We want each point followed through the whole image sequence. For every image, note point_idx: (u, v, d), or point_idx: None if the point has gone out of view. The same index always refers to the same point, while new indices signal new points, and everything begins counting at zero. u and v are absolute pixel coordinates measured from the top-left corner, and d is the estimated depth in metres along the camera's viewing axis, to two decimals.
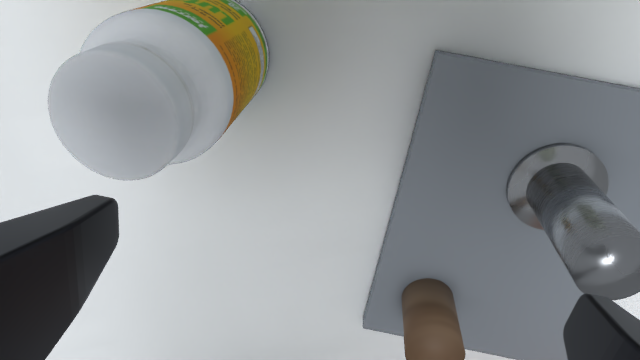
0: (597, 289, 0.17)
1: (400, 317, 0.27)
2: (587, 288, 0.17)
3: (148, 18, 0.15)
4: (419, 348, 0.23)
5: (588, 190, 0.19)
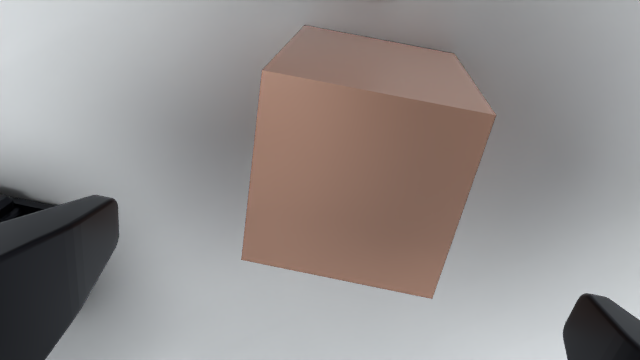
0: None
1: None
2: None
3: None
4: None
5: None
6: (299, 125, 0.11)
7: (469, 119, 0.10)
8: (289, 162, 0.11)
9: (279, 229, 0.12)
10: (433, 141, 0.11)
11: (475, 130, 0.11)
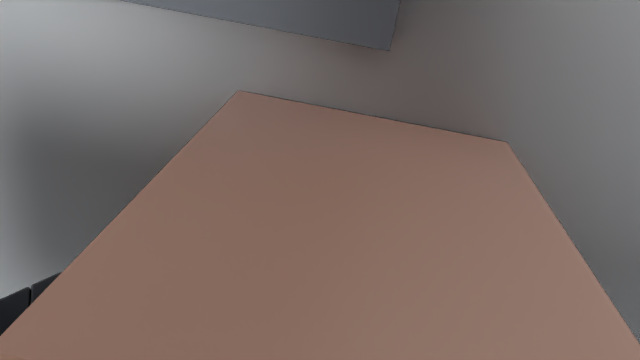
0: None
1: None
2: None
3: None
4: None
5: None
6: None
7: None
8: None
9: None
10: None
11: None
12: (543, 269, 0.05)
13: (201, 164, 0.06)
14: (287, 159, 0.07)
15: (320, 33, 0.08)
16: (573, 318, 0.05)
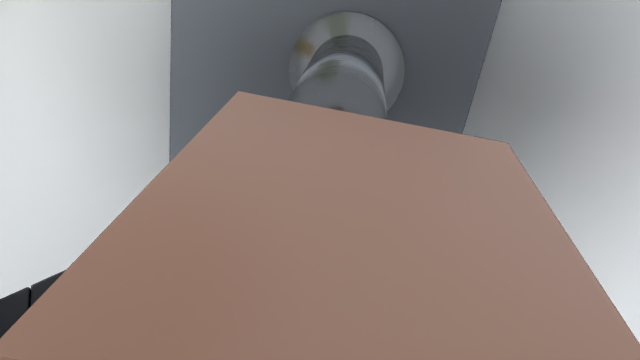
0: None
1: None
2: None
3: None
4: None
5: (342, 48, 0.15)
6: None
7: None
8: None
9: None
10: None
11: None
12: (544, 270, 0.05)
13: (201, 165, 0.06)
14: (288, 160, 0.07)
15: None
16: (574, 320, 0.05)
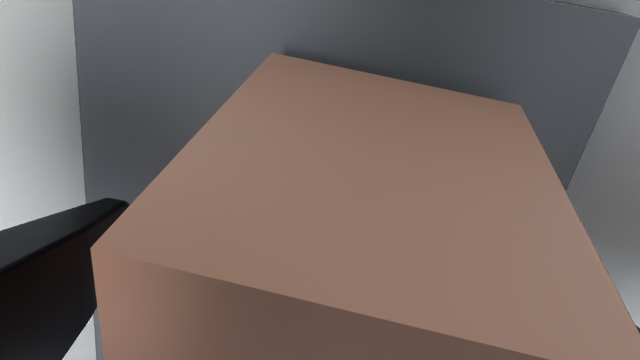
0: None
1: None
2: None
3: None
4: None
5: None
6: (193, 353, 0.05)
7: None
8: None
9: None
10: None
11: None
12: (535, 213, 0.06)
13: (242, 117, 0.07)
14: (316, 115, 0.08)
15: None
16: (554, 251, 0.06)
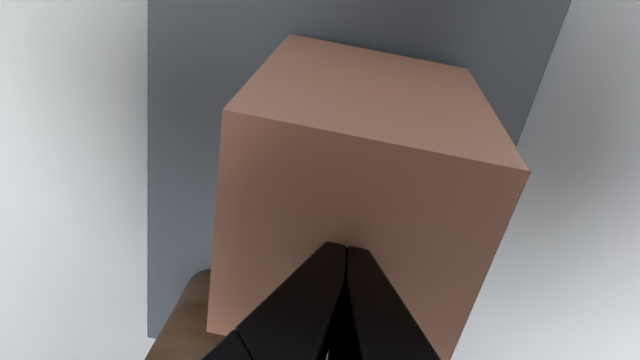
0: None
1: None
2: None
3: None
4: None
5: None
6: (273, 178, 0.09)
7: (495, 175, 0.08)
8: (261, 222, 0.09)
9: (251, 299, 0.10)
10: (446, 201, 0.08)
11: (502, 189, 0.08)
12: (470, 114, 0.10)
13: (282, 64, 0.11)
14: (329, 66, 0.11)
15: None
16: (479, 128, 0.09)
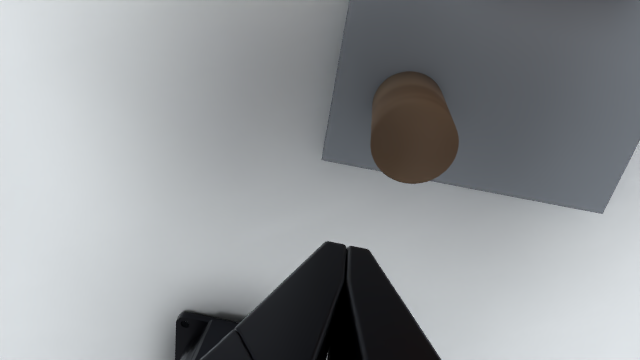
0: None
1: None
2: None
3: None
4: (391, 136, 0.15)
5: None
6: None
7: None
8: None
9: None
10: None
11: None
12: None
13: None
14: None
15: (575, 206, 0.20)
16: None
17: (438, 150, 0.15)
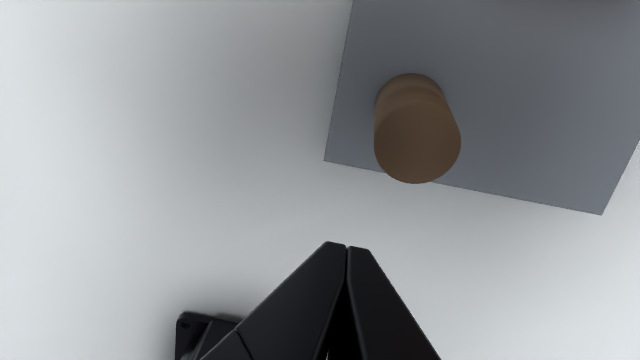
0: None
1: None
2: None
3: None
4: (394, 136, 0.16)
5: None
6: None
7: None
8: None
9: None
10: None
11: None
12: None
13: None
14: None
15: (574, 208, 0.20)
16: None
17: (441, 150, 0.16)
